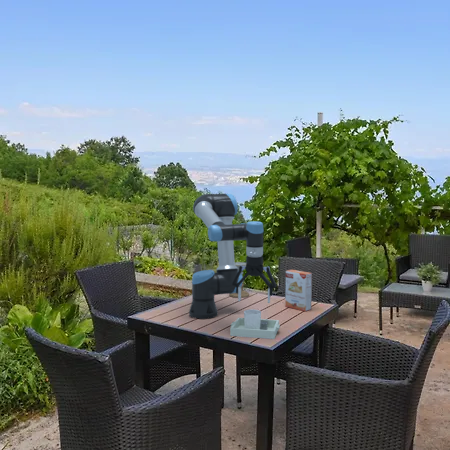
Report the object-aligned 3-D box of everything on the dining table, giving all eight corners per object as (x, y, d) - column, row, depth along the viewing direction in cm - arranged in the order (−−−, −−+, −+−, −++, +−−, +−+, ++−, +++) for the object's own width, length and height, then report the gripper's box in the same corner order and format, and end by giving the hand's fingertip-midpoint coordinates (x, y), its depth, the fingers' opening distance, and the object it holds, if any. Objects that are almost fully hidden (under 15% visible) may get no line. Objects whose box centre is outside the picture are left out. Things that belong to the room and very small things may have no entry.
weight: (245, 329, 222) (245, 321, 222) (247, 326, 226) (247, 319, 226) (266, 330, 220) (266, 323, 219) (267, 327, 224) (268, 320, 223)
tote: (227, 337, 213) (227, 328, 213) (235, 326, 229) (235, 317, 229) (277, 341, 208) (277, 331, 207) (281, 329, 224) (281, 320, 224)
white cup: (261, 335, 213) (262, 314, 212) (244, 335, 212) (244, 314, 211) (260, 330, 220) (260, 309, 220) (243, 330, 220) (243, 309, 219)
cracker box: (284, 307, 264) (285, 270, 262) (291, 305, 269) (291, 269, 267) (305, 311, 254) (305, 273, 252) (311, 309, 259) (312, 272, 257)
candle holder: (238, 299, 283) (238, 266, 281) (225, 295, 292) (225, 263, 290) (253, 295, 291) (253, 263, 289) (239, 292, 300) (239, 261, 298)
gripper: (225, 255, 212) (225, 301, 214) (281, 258, 206) (280, 305, 209) (229, 253, 219) (229, 297, 222) (283, 255, 214) (282, 300, 216)
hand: (254, 301), depth 215 cm, fingers open, 13 cm apart
